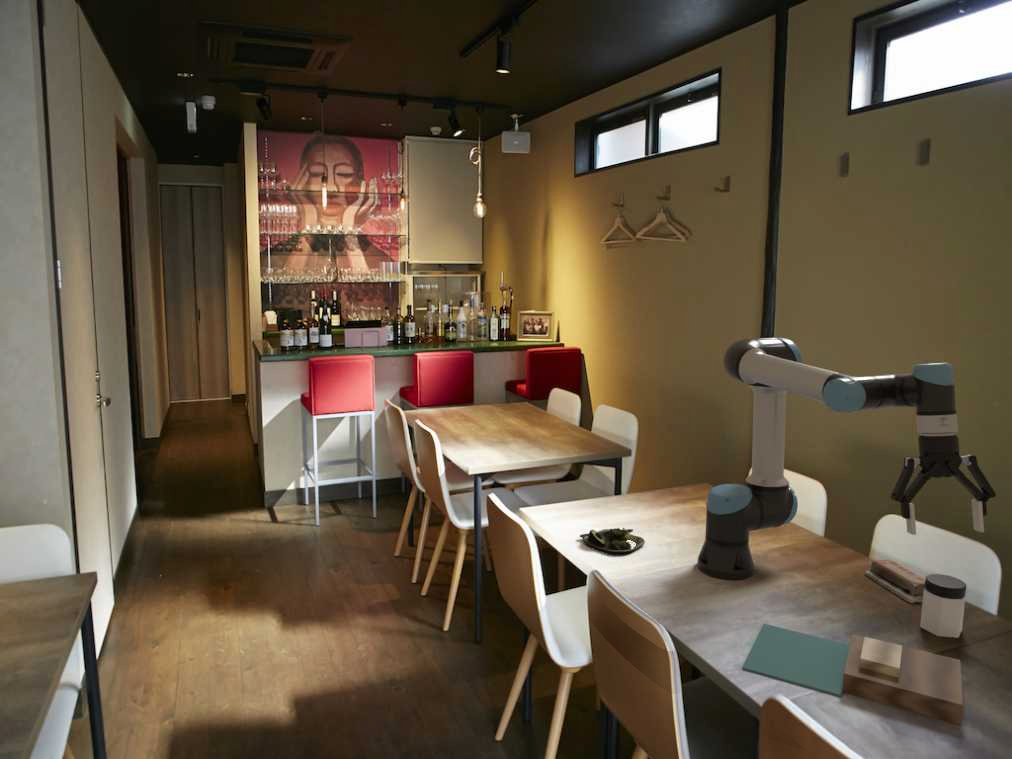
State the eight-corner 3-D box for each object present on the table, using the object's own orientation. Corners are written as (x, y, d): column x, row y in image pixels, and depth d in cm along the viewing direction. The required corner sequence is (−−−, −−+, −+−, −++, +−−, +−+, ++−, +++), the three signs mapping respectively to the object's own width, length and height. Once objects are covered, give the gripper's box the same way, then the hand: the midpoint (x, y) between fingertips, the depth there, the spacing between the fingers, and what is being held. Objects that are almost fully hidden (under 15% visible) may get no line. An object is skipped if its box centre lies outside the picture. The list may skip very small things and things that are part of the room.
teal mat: (742, 668, 150) (742, 667, 150) (763, 625, 168) (763, 623, 168) (840, 696, 140) (841, 694, 140) (852, 647, 159) (852, 645, 158)
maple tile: (859, 667, 143) (860, 658, 143) (863, 645, 152) (864, 636, 151) (898, 677, 140) (899, 668, 139) (901, 654, 148) (902, 645, 148)
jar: (924, 616, 173) (929, 570, 171) (963, 627, 168) (969, 579, 166) (917, 630, 166) (921, 582, 164) (957, 642, 161) (963, 592, 159)
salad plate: (611, 528, 232) (612, 514, 232) (657, 543, 220) (658, 528, 219) (572, 543, 219) (573, 529, 219) (619, 560, 206) (619, 545, 206)
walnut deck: (842, 691, 142) (843, 673, 141) (851, 651, 157) (852, 634, 156) (960, 724, 131) (962, 705, 131) (958, 678, 147) (960, 660, 146)
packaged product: (864, 559, 197) (896, 556, 198) (862, 575, 197) (894, 573, 199) (911, 587, 179) (946, 584, 181) (909, 605, 180) (944, 602, 182)
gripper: (883, 438, 152) (891, 538, 151) (1009, 432, 149) (1017, 533, 148) (870, 436, 159) (877, 530, 159) (990, 429, 156) (997, 526, 156)
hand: (945, 532), depth 154 cm, fingers open, 13 cm apart
